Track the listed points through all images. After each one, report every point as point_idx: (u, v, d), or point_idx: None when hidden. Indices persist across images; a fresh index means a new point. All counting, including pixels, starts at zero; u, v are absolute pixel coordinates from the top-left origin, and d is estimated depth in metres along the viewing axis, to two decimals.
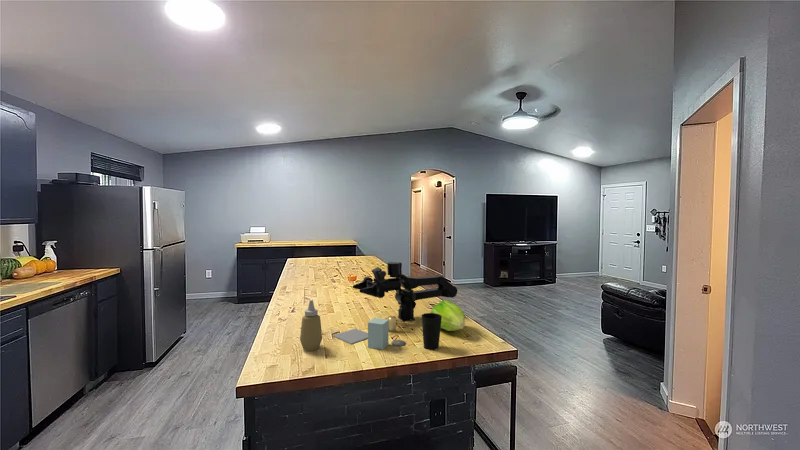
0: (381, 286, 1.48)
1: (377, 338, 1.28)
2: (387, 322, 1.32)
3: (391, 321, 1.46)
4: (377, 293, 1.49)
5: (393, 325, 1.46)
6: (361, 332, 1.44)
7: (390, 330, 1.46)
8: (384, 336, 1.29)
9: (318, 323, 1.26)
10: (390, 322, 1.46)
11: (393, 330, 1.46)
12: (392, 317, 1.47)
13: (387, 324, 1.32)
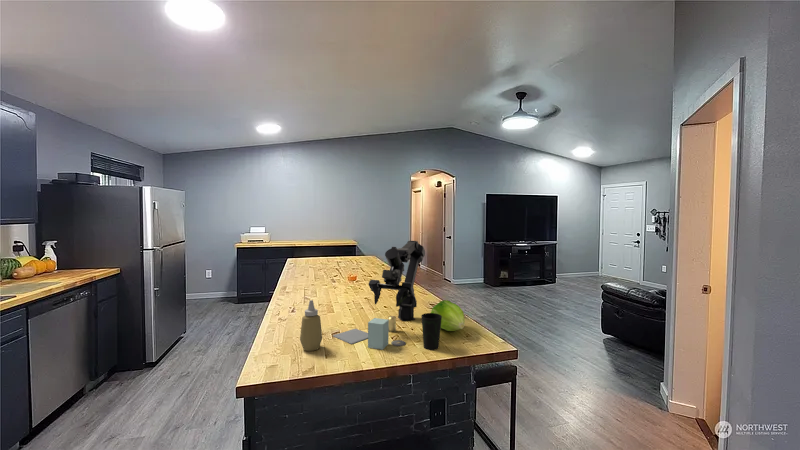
0: (411, 286, 1.40)
1: (377, 338, 1.28)
2: (387, 322, 1.32)
3: (391, 321, 1.46)
4: (409, 293, 1.41)
5: (393, 325, 1.46)
6: (361, 332, 1.44)
7: (390, 330, 1.46)
8: (384, 336, 1.29)
9: (318, 323, 1.26)
10: (390, 322, 1.46)
11: (393, 330, 1.46)
12: (392, 317, 1.47)
13: (387, 324, 1.32)
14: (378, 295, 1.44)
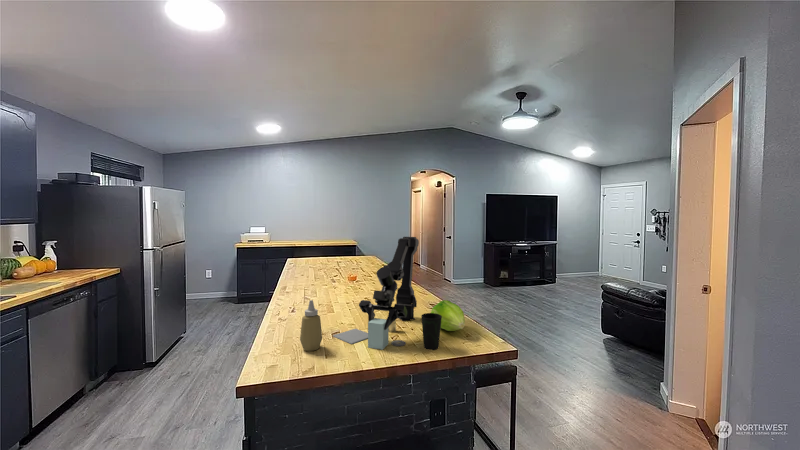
0: (404, 308, 1.31)
1: (377, 338, 1.28)
2: None
3: None
4: (398, 315, 1.33)
5: (393, 325, 1.46)
6: (361, 332, 1.44)
7: (390, 330, 1.46)
8: (384, 336, 1.29)
9: (318, 323, 1.26)
10: None
11: (393, 330, 1.46)
12: None
13: None
14: (372, 317, 1.35)
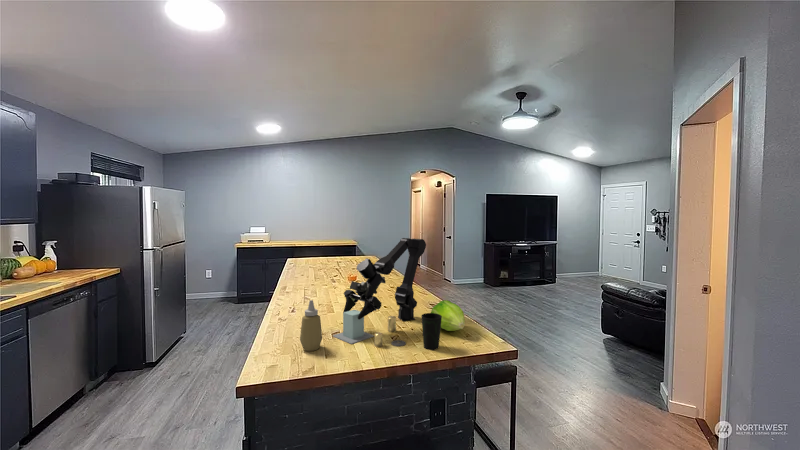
0: (374, 300, 1.36)
1: (349, 328, 1.38)
2: None
3: (391, 321, 1.46)
4: (374, 307, 1.38)
5: (393, 325, 1.46)
6: None
7: (390, 330, 1.46)
8: (355, 327, 1.38)
9: (318, 323, 1.26)
10: (390, 322, 1.46)
11: (393, 330, 1.46)
12: (392, 317, 1.47)
13: None
14: (350, 306, 1.46)
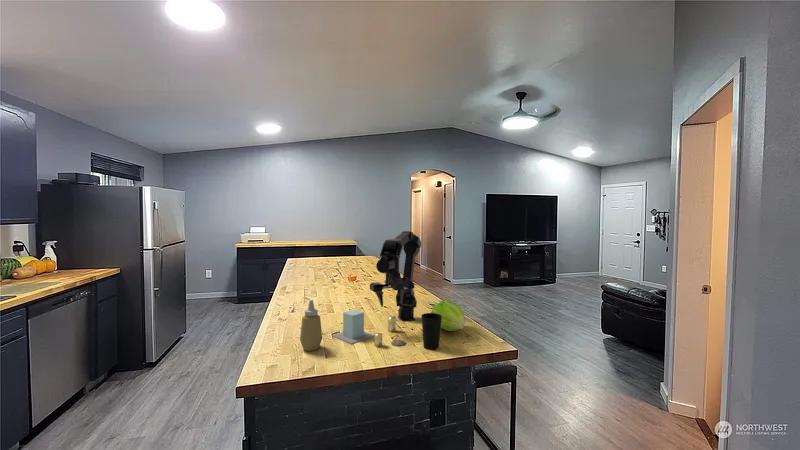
0: None
1: (349, 328, 1.38)
2: (361, 314, 1.40)
3: (391, 321, 1.46)
4: None
5: (393, 325, 1.46)
6: None
7: (390, 330, 1.46)
8: (355, 327, 1.38)
9: (318, 323, 1.26)
10: (390, 322, 1.46)
11: (393, 330, 1.46)
12: (392, 317, 1.47)
13: (361, 317, 1.40)
14: None
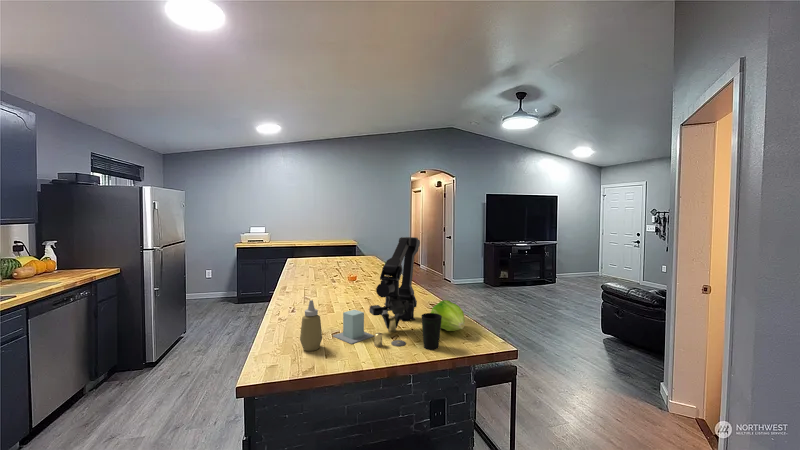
0: None
1: (349, 328, 1.38)
2: (361, 314, 1.40)
3: (391, 321, 1.46)
4: None
5: (393, 325, 1.46)
6: None
7: (390, 330, 1.46)
8: (355, 327, 1.38)
9: (318, 323, 1.26)
10: (390, 322, 1.46)
11: (393, 330, 1.46)
12: (392, 317, 1.47)
13: (361, 317, 1.40)
14: None
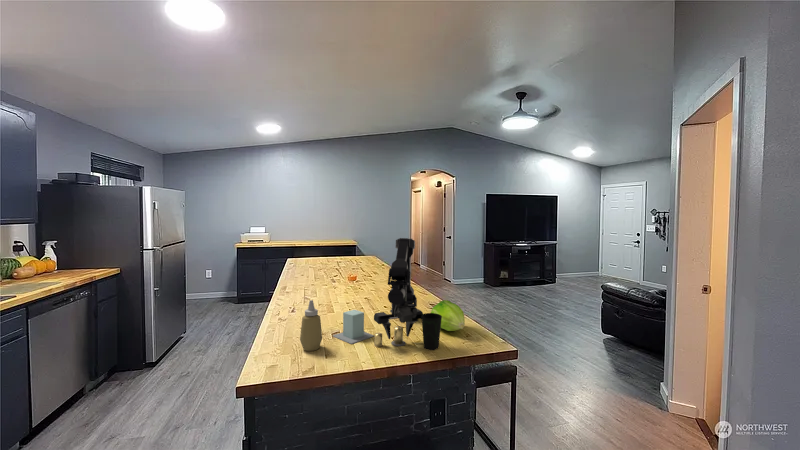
0: None
1: (349, 328, 1.38)
2: (361, 314, 1.40)
3: (398, 331, 1.32)
4: None
5: (400, 336, 1.32)
6: None
7: (397, 342, 1.32)
8: (355, 327, 1.38)
9: (318, 323, 1.26)
10: (397, 333, 1.32)
11: (400, 342, 1.32)
12: (399, 327, 1.33)
13: (361, 317, 1.40)
14: None
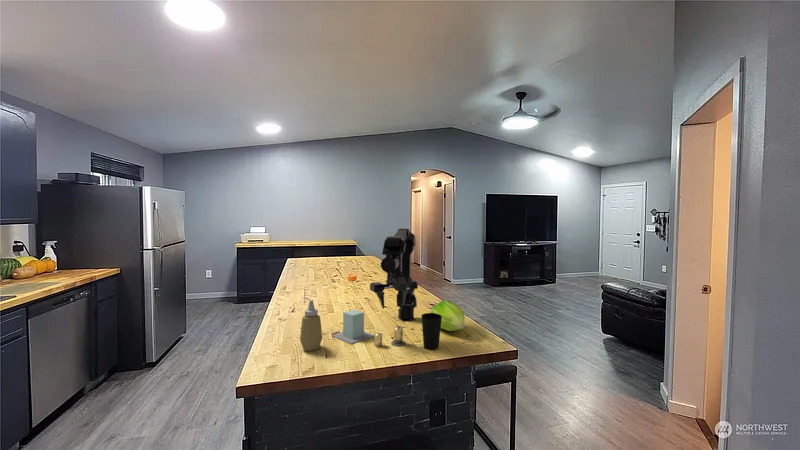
0: None
1: (349, 328, 1.38)
2: (361, 314, 1.40)
3: (398, 331, 1.32)
4: None
5: (400, 336, 1.32)
6: None
7: (397, 342, 1.32)
8: (355, 327, 1.38)
9: (318, 323, 1.26)
10: (397, 333, 1.32)
11: (400, 342, 1.32)
12: (399, 327, 1.33)
13: (361, 317, 1.40)
14: None
